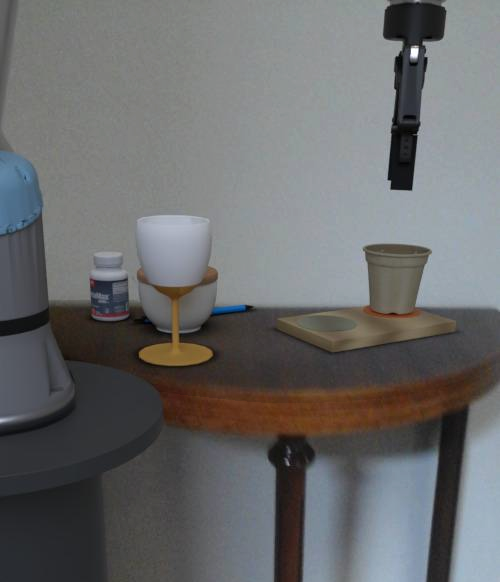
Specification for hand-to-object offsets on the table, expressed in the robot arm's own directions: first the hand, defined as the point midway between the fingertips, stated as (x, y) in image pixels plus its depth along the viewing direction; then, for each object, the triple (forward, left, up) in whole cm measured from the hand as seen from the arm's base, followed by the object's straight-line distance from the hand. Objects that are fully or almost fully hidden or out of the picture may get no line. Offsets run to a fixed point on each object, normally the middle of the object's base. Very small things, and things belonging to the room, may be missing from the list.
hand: (398, 185), depth 110 cm
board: (-5, -2, -19) cm, 19 cm away
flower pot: (+1, 0, -17) cm, 17 cm away
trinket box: (-27, +11, -19) cm, 35 cm away
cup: (-33, 0, -19) cm, 38 cm away
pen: (-22, +16, -19) cm, 33 cm away
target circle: (+1, 0, -17) cm, 17 cm away
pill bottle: (-33, +21, -19) cm, 43 cm away
